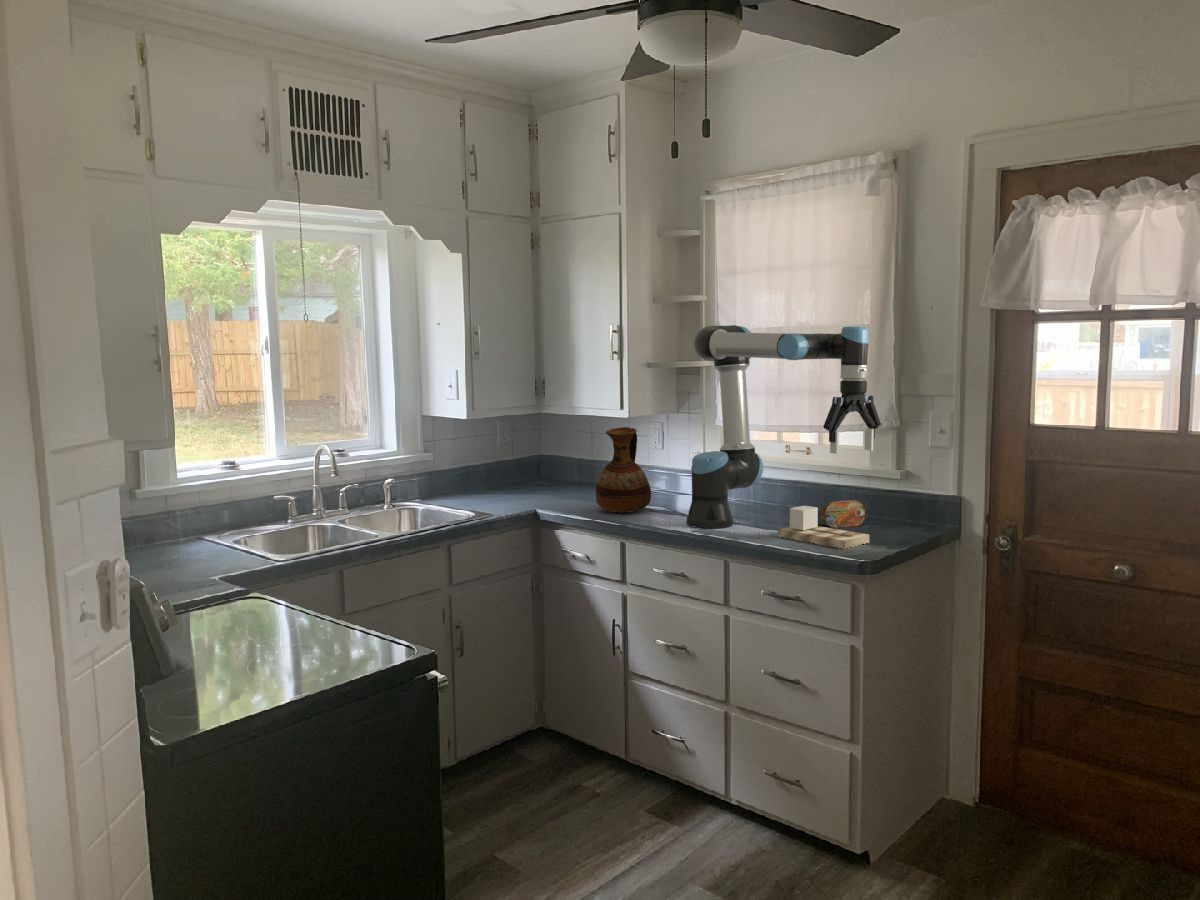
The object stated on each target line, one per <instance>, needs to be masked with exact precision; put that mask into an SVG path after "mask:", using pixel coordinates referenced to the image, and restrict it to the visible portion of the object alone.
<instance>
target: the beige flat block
mask: <svg viewBox="0 0 1200 900" xmlns="http://www.w3.org/2000/svg"><path fill="white" fill-rule="evenodd" d="M778 536H780V537H779V538H781V537H785V538H784V539H786V538H790V539H789V540H792V539H795V540H794V541H797V540H799V541H798V542H802V541H805V542H804V543H808V542H810V543H809V544H813V543H815V544H814V545H820V546H823V547H824V546H826V547H829V548H830V547H831V548H835V547H837V549H840V548H843V549H842V550H847V549H846V548H848V549H851V548H850V547H852V548H856V547H859V546H858V545H860V546H863V545H862V544H864V545H866V543H868V544H869V543H870V534H867V533H862V532H855V531H851V530H850V531H849V530H844V529H839V528H832V527H824V526H821V525H819V526H818V525H817V527H815V528H811V529H806V530H799V529H793V528H790V525H789V526H785V527H781V528H778V529H777V537H778ZM855 546H856V547H855Z"/></svg>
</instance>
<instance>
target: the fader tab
mask: <svg viewBox="0 0 1200 900" xmlns="http://www.w3.org/2000/svg"><path fill="white" fill-rule="evenodd" d="M818 512H819V508H818V507H817V506H815V507H814V506H809V505H801V506H800V505H799V506H794V507H790V508H789V526H790V528H793V529H799V530H806V529H811V528H815V527H817V526H818V525H819V524H818V521H819V520H818V515H819V513H818Z"/></svg>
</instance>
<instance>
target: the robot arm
mask: <svg viewBox="0 0 1200 900" xmlns="http://www.w3.org/2000/svg"><path fill="white" fill-rule="evenodd" d="M693 339H694V340H693V348H694V351H695V353H696V355H697V356H698V357H699V358H701V359H702V360H704V361H707V362H713V363H714V369H716V371H718V373H719V385H720V387H719V388H720V400H721V401H720V402H721V417H722V431H723V432H722V433H723V445H722V446H720V448H719V450H718V451H717V450H716V451H715V450H713V451H705V452H700V453H698V454H696V455H694V456H693V458H692V459H691V460H692V461H691V467H690V469H691V470H690V471H691V503H690V506H689V509H688V514H687V516H686V525H687V524H688V525H687V526H689V525H690V526H689V527H692V526H695V527H694V528H697V527H705V528H704V529H722V528H721V527H725V528H729V527H732V526H733V525H734V516H733V515H732V511H731V507H730V504H729V497H728V495H729V491H730V490H736V489H737V490H738V489H747V488H749V487H751V486H754V485H756V484H757V483H758V482H759V481H760V480H761V478H762V476H763V473H764V462H763V460H762V458H761V456H760V455H759V453H757V452H756V447H755V446H754V444H752V442H751V439H750V423H749V420H750V419H749V405H748V392H747V391H748V390H747V376H746V375H747V374H746V371H747V369H748V367H750V365H751V363H750V359H751V358H757V359H758V358H759V359H779V360H787V361H801V360H840V379H842V380H841V381H840V382H839V384H840V385H839V389H840V391H839V392H840V393H841V396H833V397H832V402H831V406H830V409H829V410H828V414H827V415H826V418H825V421H824V423H823V429H824V430H826V431H828V443H830V444H829V452H830V454H835V455H839V451H840V450H839V443H840V439H839V437H840V431H838V429H839V427H840V425H841V424H842V422H843V421H844V419H845V418H846V417H847V416H848V414H850V412H852V413H855V412H857V413H858V414H859V416H860V418H861V419H862V420H863V422H864V424H865V425H866V428H865V429H864V451H871V452H873V451H874V440H875V438H876V434H875V433H876V430H877V429H878V428H879V427H881V424H882V423H881V420H880V417H879V415H878V412H877V409H876V405H875V402H874V396H873V395H868V394H867V391H868V381H867V380H865V379H867V377H868V351H869V343H870V341H869V329H868V328H867V327H866V326H843V327H842V328H841V332H840V333H818V332H817V333H783V332H781V333H777V332H751V330H749V329H748V328H747V327H745V326H740V325H735V324H732V325H707V326H704V327H703V328H701V329H700V330H699V331H698V332H697V333H696V334H695V336H694V338H693ZM866 394H867V395H866ZM731 525H732V526H731ZM728 526H729V527H728Z"/></svg>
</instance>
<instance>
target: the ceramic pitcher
mask: <svg viewBox="0 0 1200 900" xmlns="http://www.w3.org/2000/svg"><path fill="white" fill-rule="evenodd" d="M605 433H606V435H607V436H609V438H610V439H611V440H612V448H613V456H612V458H611V461H610V462H609V463H607V464H606V465H605V467H604V468H603V469H602V471H601V472H600V474H599V475H598V476H599V477H598V478H597V480H596V481H597V482H596V486H595V501H596V504H597V505H598V506H599V508H601V509H603V510H605V511H609V512H612V513H616V512H620V513H619V514H623V512H625V513H633V512H636V511H640V510H643V509H644V508H646V507H647V506H649V505H650V502H651V499H652V489H651V484H650V483H649V480H648V478H647V476H646V473H645V472H644V470H643V469H642V468H641V466H640V465H639V464H638V463H637V462H636V457H637V448H638V447H637V446H638V434H637V429H636V428H633V427H629V426H624V427H623V426H622V427H617V428H611V429H607V430H606V431H605Z"/></svg>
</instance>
